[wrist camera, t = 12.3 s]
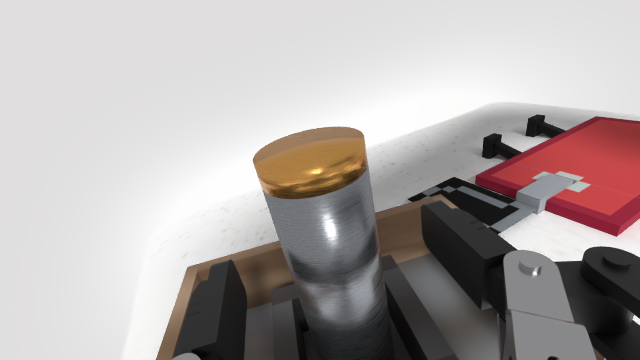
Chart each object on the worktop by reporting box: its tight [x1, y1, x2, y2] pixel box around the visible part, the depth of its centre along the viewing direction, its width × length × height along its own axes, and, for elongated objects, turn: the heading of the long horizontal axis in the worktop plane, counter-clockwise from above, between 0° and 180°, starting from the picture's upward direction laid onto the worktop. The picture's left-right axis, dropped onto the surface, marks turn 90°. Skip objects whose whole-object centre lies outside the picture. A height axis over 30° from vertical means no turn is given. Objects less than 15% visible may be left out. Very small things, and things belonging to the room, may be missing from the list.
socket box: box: [156, 194, 606, 360], centre depth 16 cm, size 12×19×5 cm, turn 101°
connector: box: [253, 127, 395, 360], centre depth 13 cm, size 4×4×13 cm
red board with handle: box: [408, 115, 640, 237], centre depth 29 cm, size 30×3×15 cm
